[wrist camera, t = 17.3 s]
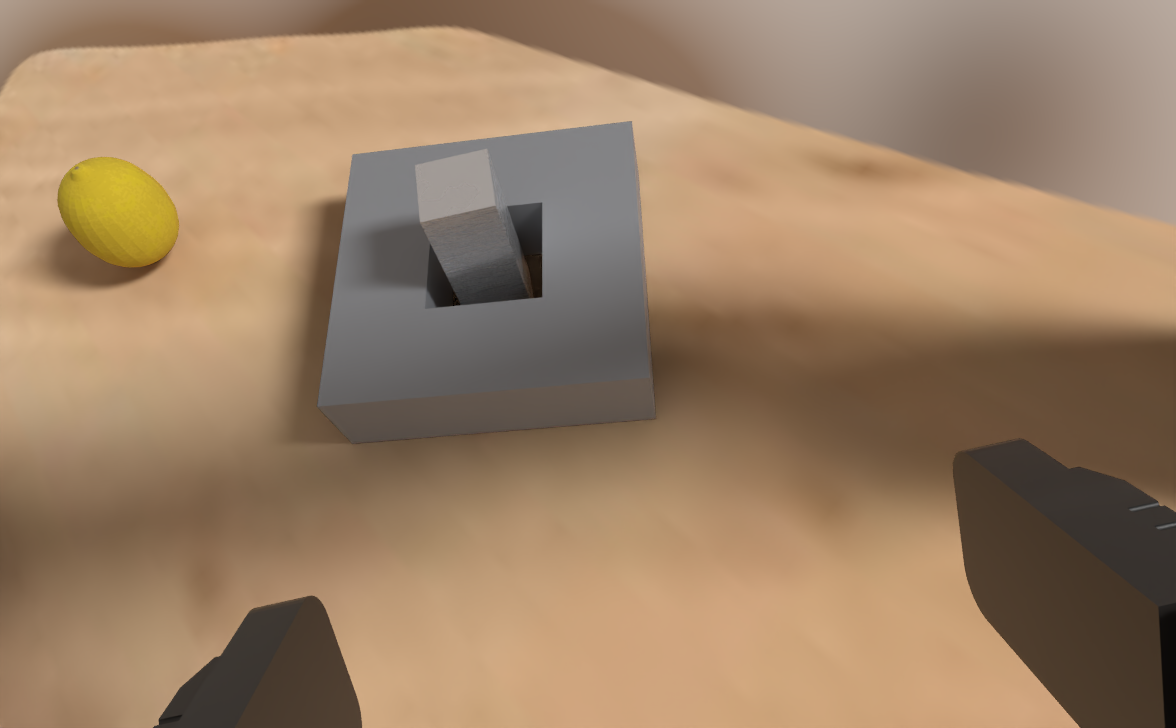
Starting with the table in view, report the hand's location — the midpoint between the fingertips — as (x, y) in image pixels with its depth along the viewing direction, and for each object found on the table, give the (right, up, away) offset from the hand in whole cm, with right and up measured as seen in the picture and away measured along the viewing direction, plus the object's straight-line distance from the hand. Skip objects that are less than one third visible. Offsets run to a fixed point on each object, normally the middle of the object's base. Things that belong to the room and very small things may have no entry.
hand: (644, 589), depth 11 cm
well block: (-5, +6, +37) cm, 38 cm away
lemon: (-27, +9, +43) cm, 52 cm away
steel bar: (-5, +6, +37) cm, 38 cm away
